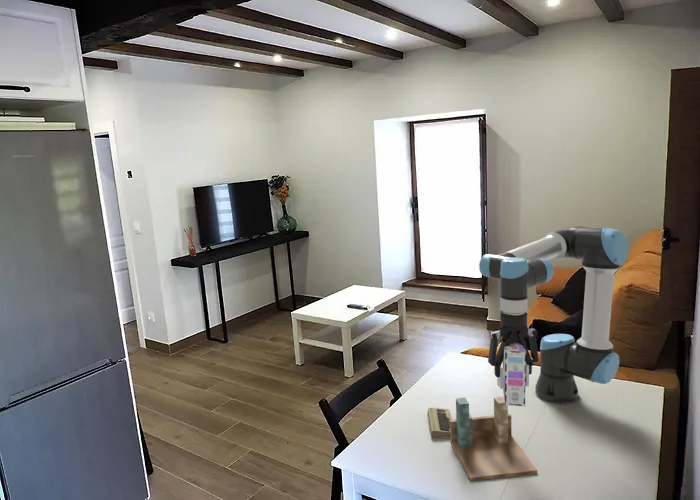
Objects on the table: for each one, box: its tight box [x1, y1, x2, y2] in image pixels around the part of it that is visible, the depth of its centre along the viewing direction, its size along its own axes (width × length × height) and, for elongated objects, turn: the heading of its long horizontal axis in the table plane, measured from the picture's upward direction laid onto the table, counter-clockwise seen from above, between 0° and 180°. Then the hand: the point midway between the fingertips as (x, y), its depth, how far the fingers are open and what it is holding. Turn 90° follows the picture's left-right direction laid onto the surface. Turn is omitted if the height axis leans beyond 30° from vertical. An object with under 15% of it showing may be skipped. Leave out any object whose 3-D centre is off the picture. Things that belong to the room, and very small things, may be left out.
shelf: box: [450, 396, 538, 482], centre depth 153 cm, size 20×20×16 cm
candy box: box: [502, 342, 526, 407], centre depth 148 cm, size 14×6×16 cm, turn 166°
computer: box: [427, 407, 453, 439], centre depth 175 cm, size 16×8×3 cm, turn 176°
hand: (513, 385), depth 149 cm, fingers closed on candy box, 7 cm apart
